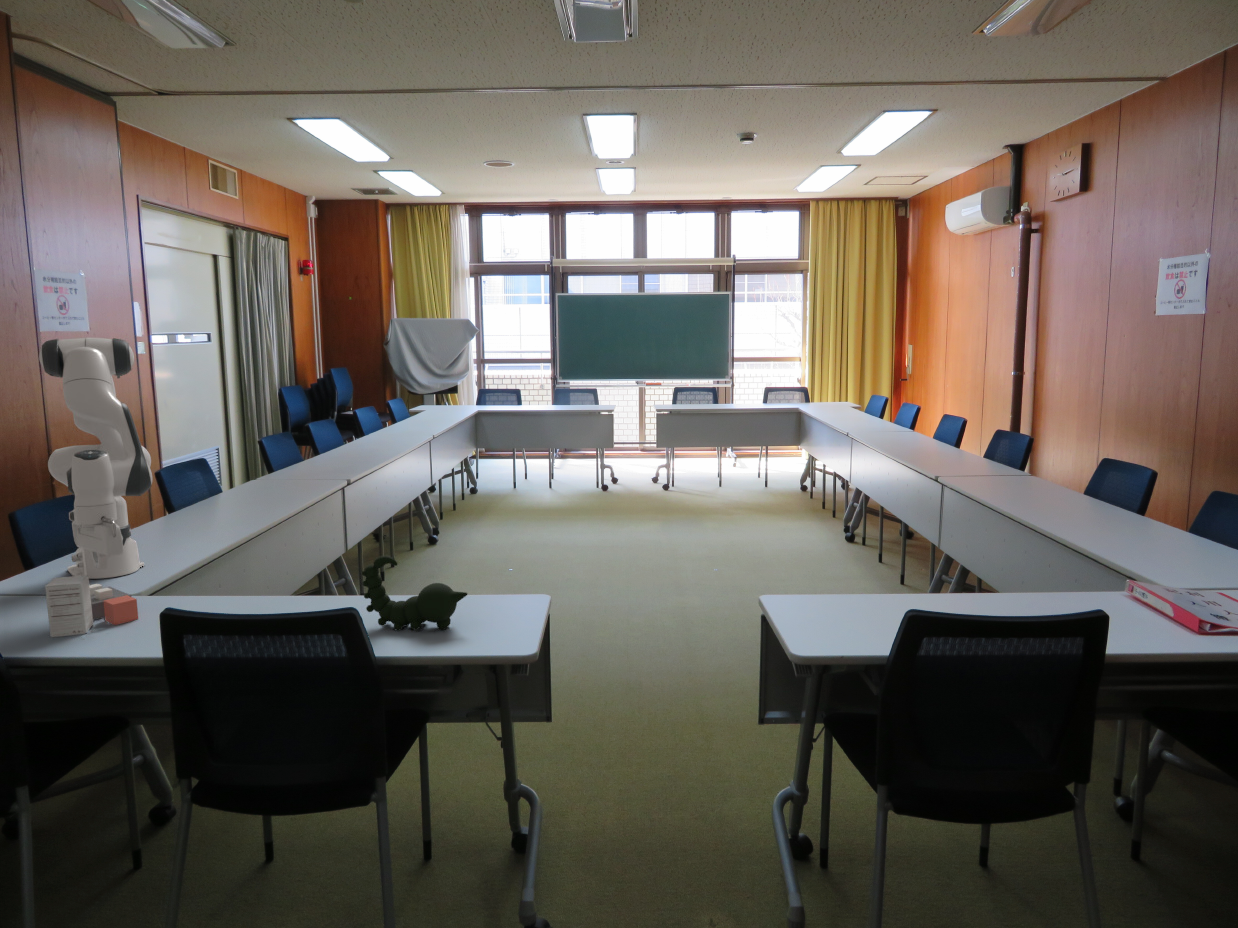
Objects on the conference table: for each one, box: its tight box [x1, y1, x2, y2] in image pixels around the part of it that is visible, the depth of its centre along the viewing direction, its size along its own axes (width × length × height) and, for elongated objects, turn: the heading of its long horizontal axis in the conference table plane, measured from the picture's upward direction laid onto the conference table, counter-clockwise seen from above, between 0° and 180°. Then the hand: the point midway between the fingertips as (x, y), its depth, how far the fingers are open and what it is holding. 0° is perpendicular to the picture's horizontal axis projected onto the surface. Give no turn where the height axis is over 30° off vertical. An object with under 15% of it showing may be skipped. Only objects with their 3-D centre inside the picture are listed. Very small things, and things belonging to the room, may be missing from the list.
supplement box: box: [44, 575, 94, 638], centre depth 190 cm, size 7×7×13 cm
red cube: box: [103, 595, 139, 626], centre depth 199 cm, size 5×5×5 cm
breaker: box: [89, 583, 104, 596], centre depth 207 cm, size 3×3×4 cm
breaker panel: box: [90, 586, 132, 621], centre depth 206 cm, size 13×10×4 cm
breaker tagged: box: [94, 587, 113, 601], centre depth 204 cm, size 3×3×4 cm
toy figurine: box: [361, 555, 468, 632], centre depth 192 cm, size 9×19×25 cm
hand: (101, 568), depth 202 cm, fingers closed
